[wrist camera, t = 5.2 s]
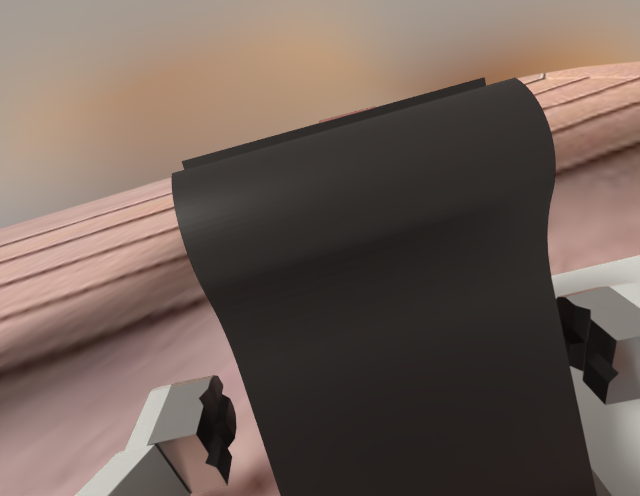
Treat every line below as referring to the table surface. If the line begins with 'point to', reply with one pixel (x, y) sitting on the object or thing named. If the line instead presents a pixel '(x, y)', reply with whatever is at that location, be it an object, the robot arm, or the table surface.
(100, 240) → the table surface
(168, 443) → the robot arm
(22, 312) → the table surface
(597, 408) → the grey mat
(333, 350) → the phone stand
